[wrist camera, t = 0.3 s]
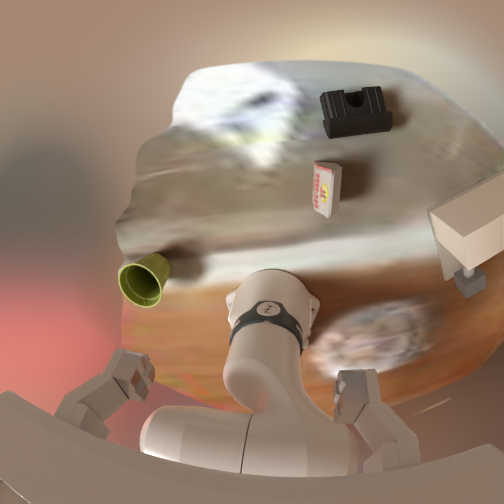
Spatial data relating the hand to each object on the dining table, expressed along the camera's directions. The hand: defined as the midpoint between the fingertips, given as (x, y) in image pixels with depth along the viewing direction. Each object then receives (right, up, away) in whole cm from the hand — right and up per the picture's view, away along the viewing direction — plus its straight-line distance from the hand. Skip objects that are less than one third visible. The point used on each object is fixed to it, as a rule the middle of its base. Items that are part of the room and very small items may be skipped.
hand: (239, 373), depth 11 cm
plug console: (+46, +11, +32) cm, 57 cm away
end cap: (+17, +28, +29) cm, 44 cm away
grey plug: (+40, +2, +31) cm, 51 cm away
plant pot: (-19, +2, +46) cm, 50 cm away
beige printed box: (+13, +17, +35) cm, 41 cm away
